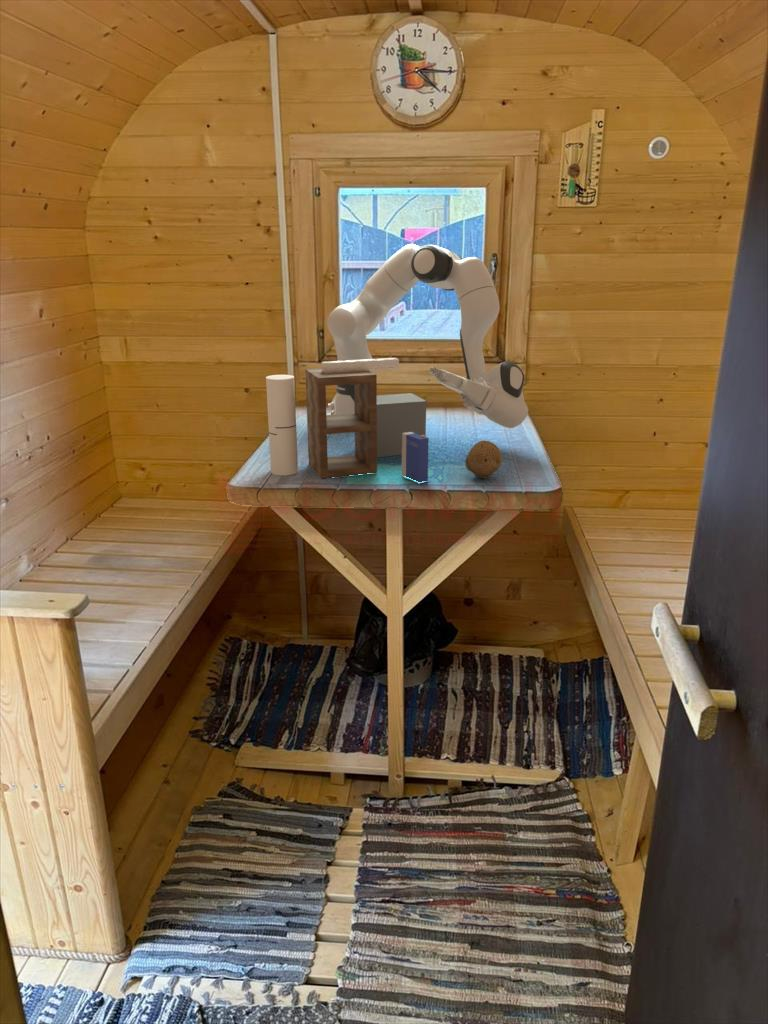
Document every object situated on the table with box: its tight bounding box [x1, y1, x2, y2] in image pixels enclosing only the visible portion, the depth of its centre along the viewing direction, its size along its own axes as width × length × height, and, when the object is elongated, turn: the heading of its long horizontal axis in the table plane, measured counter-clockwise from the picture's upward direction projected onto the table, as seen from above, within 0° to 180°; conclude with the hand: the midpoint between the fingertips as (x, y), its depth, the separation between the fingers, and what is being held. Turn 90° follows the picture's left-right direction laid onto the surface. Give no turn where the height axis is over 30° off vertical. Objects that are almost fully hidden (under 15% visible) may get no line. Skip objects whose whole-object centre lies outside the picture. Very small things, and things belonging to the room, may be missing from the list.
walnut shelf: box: [304, 367, 378, 480], centre depth 199 cm, size 14×15×26 cm
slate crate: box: [377, 392, 427, 458], centre depth 219 cm, size 12×16×15 cm
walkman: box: [401, 432, 430, 482], centre depth 193 cm, size 8×3×12 cm, turn 33°
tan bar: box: [321, 357, 400, 374], centre depth 196 cm, size 3×20×3 cm, turn 109°
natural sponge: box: [464, 440, 503, 480], centre depth 193 cm, size 9×9×10 cm
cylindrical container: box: [265, 374, 299, 476], centre depth 197 cm, size 7×7×25 cm
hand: (437, 371), depth 203 cm, fingers open, 8 cm apart
